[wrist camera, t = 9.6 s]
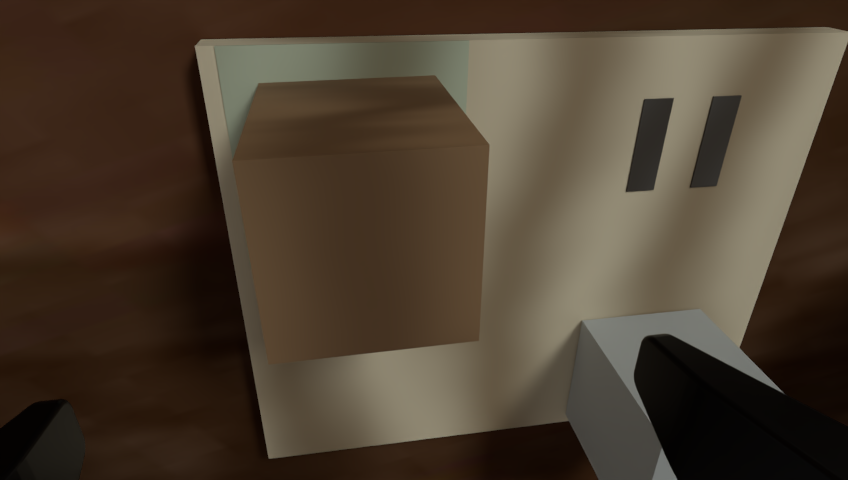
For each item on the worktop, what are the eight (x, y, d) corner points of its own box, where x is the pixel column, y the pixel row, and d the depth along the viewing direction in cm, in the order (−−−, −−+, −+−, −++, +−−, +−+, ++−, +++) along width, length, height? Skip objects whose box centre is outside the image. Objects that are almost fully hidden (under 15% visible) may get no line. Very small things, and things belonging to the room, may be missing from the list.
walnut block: (435, 74, 17) (489, 144, 11) (434, 226, 19) (479, 341, 14) (258, 83, 16) (232, 161, 11) (281, 239, 18) (268, 364, 13)
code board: (826, 27, 19) (852, 32, 18) (707, 386, 27) (720, 402, 26) (201, 39, 16) (194, 46, 15) (270, 439, 24) (268, 459, 23)
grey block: (699, 308, 23) (812, 421, 18) (672, 400, 25) (764, 523, 20) (582, 320, 22) (663, 441, 17) (565, 413, 25) (632, 545, 19)
